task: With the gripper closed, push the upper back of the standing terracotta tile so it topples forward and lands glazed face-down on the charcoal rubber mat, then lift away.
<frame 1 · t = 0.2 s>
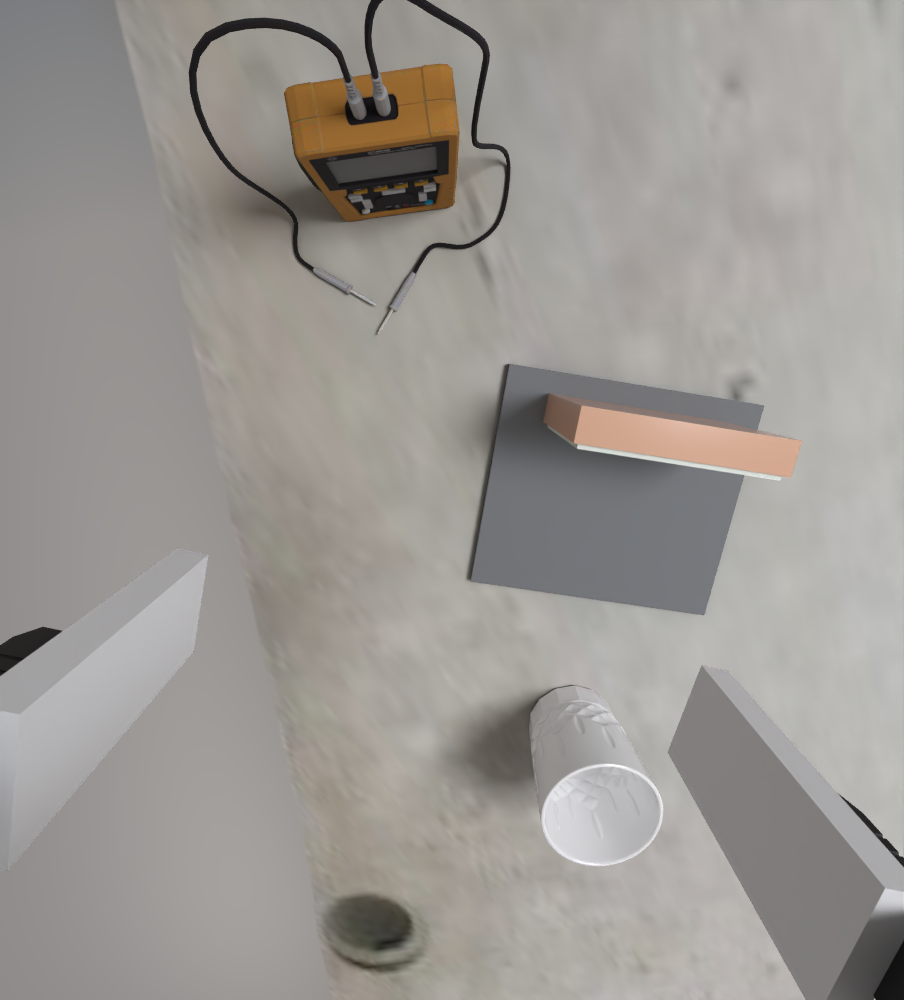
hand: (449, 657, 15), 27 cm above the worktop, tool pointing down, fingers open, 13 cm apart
white cup: (569, 719, 47), on the worktop
multimeter: (406, 252, 38), on the worktop
tile: (629, 421, 40), point 1 cm above the worktop, touching mat
mat: (610, 494, 42), on the worktop
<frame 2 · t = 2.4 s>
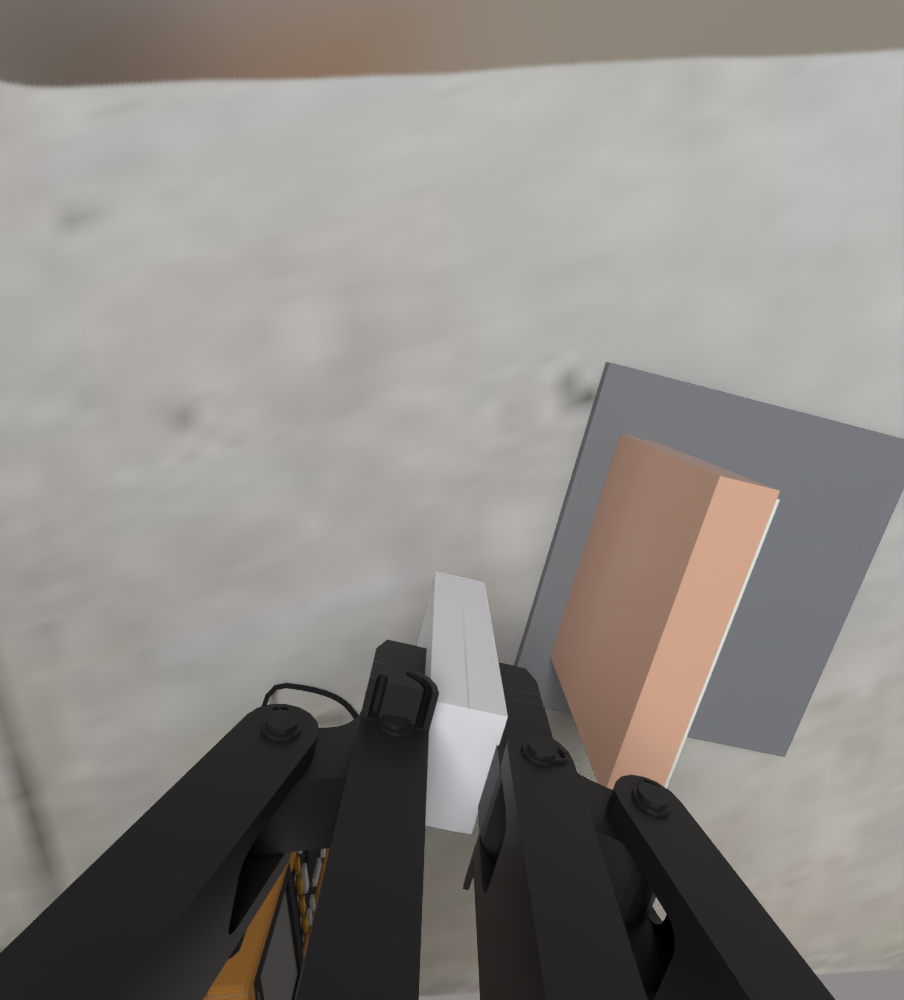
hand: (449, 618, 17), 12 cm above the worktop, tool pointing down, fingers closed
multimeter: (367, 791, 33), on the worktop
tile: (602, 554, 29), point 1 cm above the worktop, touching mat
mat: (700, 573, 30), on the worktop
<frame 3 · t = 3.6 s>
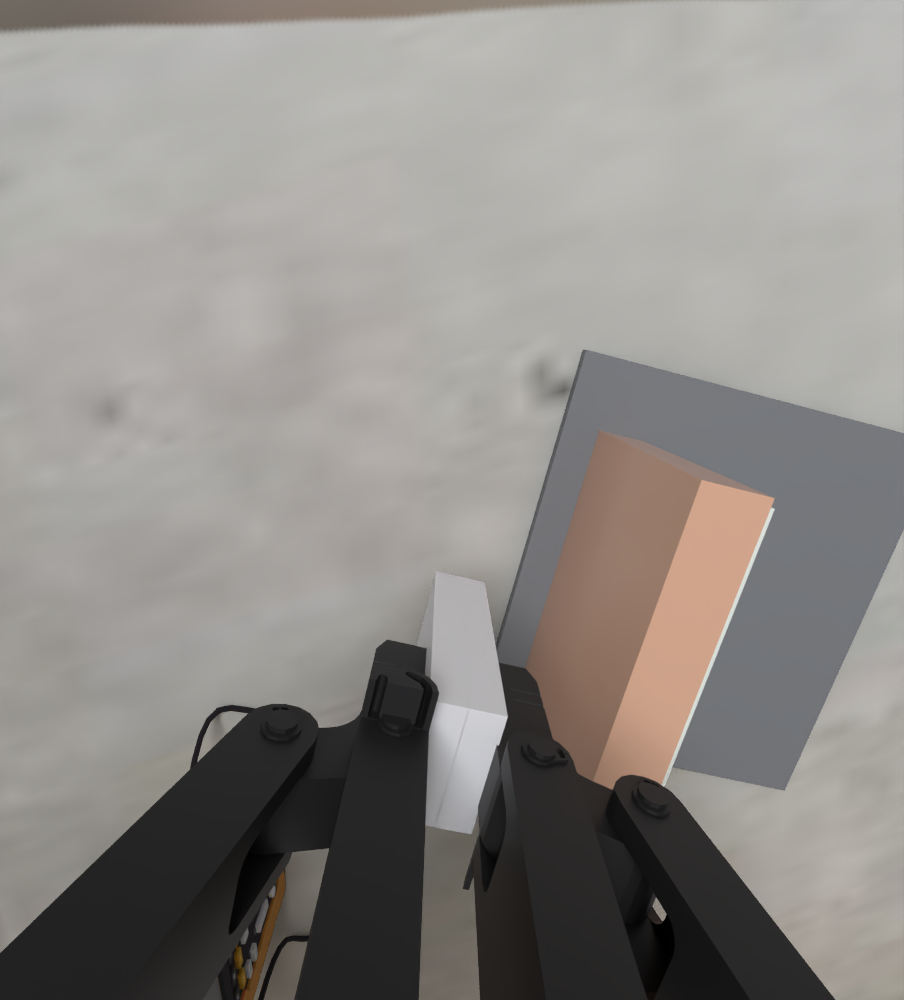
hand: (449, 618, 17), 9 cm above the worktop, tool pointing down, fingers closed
multimeter: (323, 822, 30), on the worktop
tile: (580, 565, 26), point 1 cm above the worktop, touching mat
mat: (690, 587, 27), on the worktop
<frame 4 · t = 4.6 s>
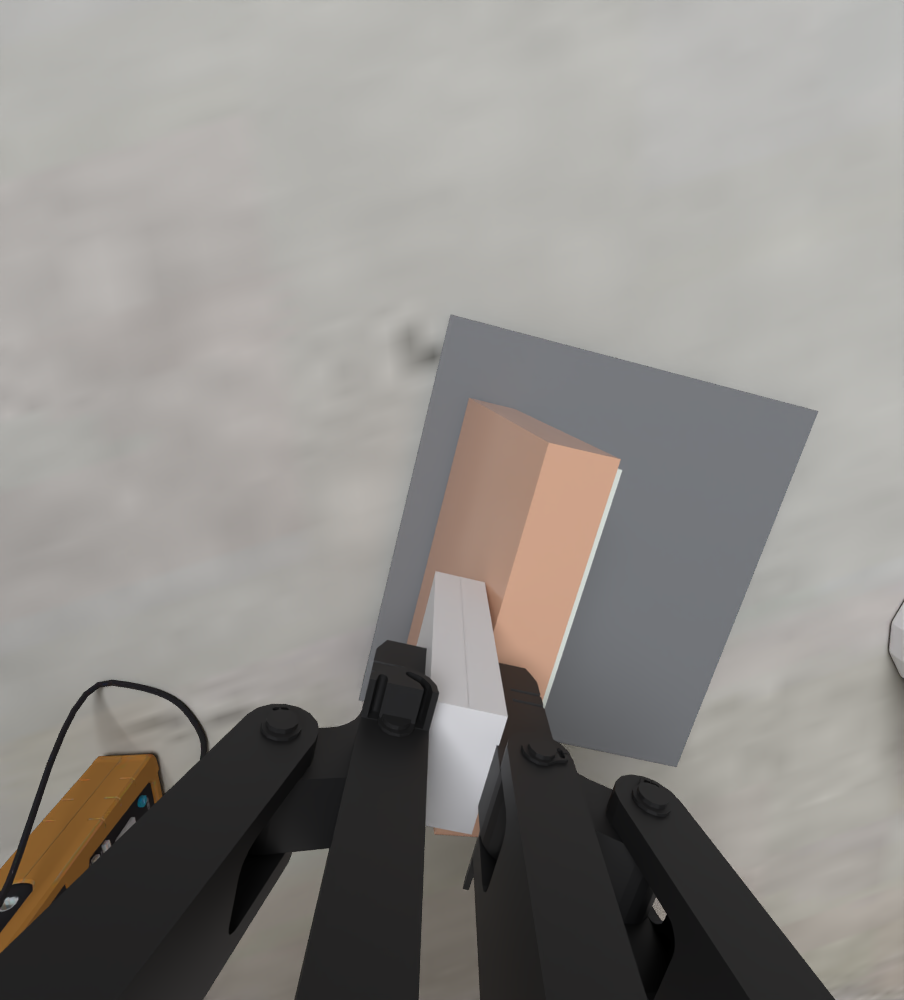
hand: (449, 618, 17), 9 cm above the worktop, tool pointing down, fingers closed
multimeter: (214, 800, 30), on the worktop
tile: (456, 537, 25), point 1 cm above the worktop, tilted 9°, touching mat
mat: (572, 559, 27), on the worktop
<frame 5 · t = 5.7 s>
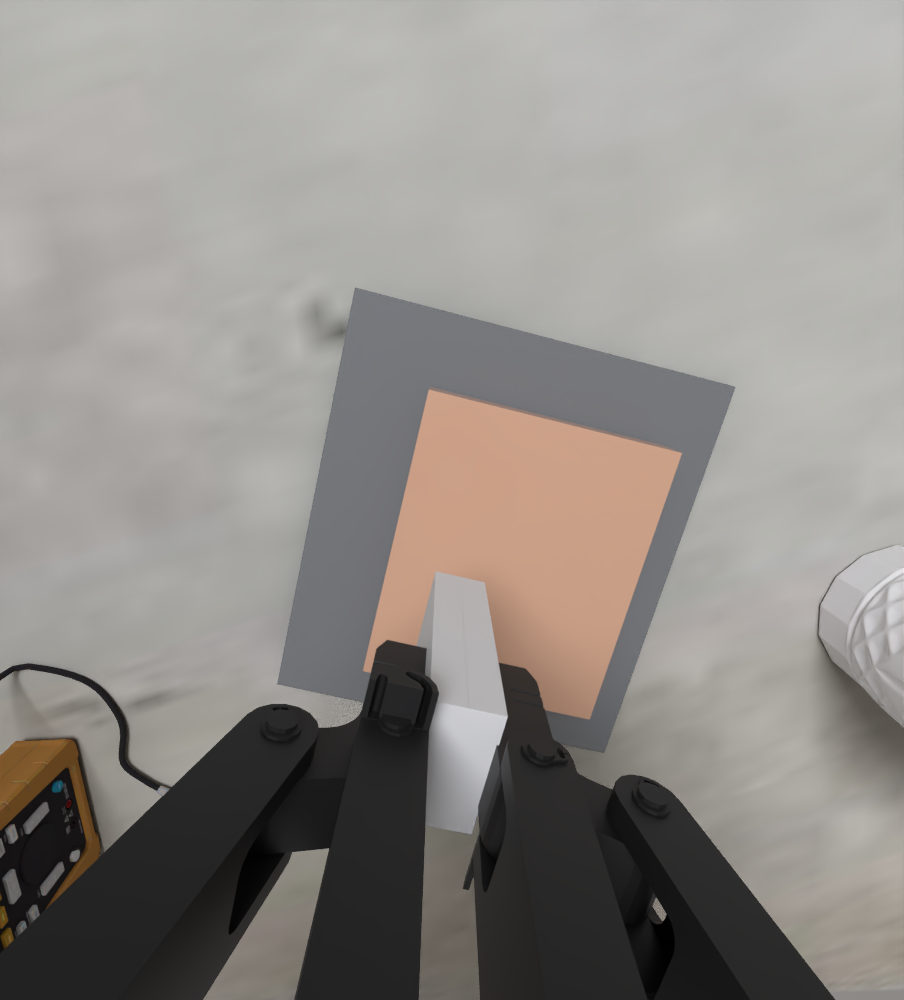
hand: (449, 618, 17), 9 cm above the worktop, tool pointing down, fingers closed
white cup: (884, 609, 27), on the worktop
multimeter: (137, 787, 29), on the worktop
tile: (395, 531, 24), point 2 cm above the worktop, tilted 90°, touching mat
mat: (491, 540, 26), on the worktop
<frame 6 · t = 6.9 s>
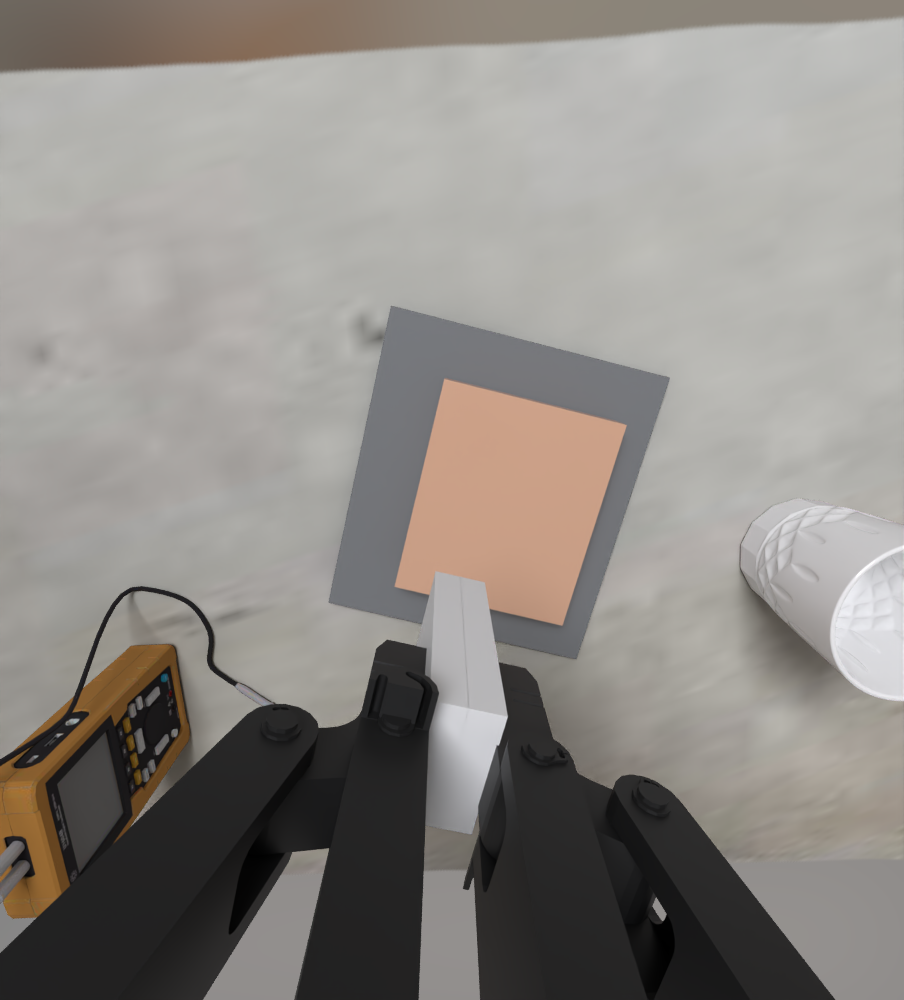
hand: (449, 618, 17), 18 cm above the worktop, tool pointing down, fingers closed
white cup: (791, 549, 36), on the worktop
multimeter: (219, 685, 38), on the worktop
tile: (419, 483, 33), point 2 cm above the worktop, tilted 90°, touching mat
mat: (490, 493, 35), on the worktop
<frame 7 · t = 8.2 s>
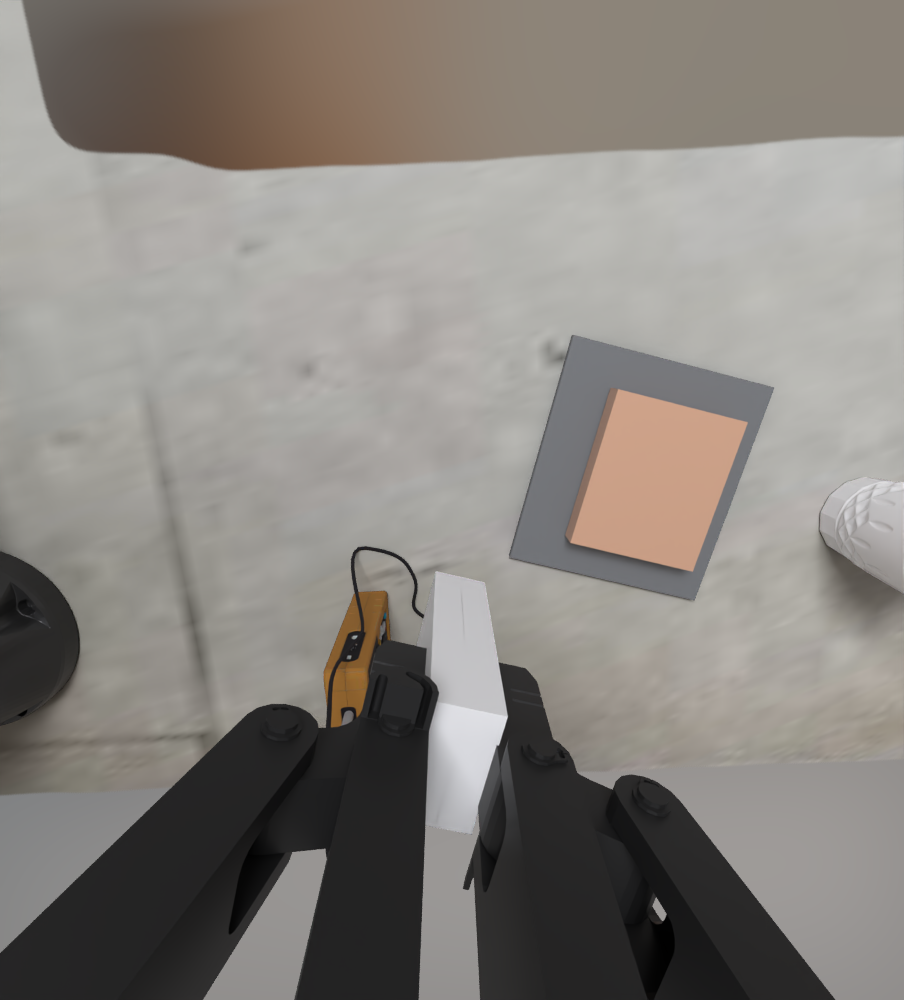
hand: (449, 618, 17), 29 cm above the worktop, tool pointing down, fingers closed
white cup: (857, 515, 48), on the worktop
multimeter: (416, 624, 50), on the worktop
tile: (590, 465, 44), point 2 cm above the worktop, tilted 90°, touching mat
mat: (635, 474, 46), on the worktop
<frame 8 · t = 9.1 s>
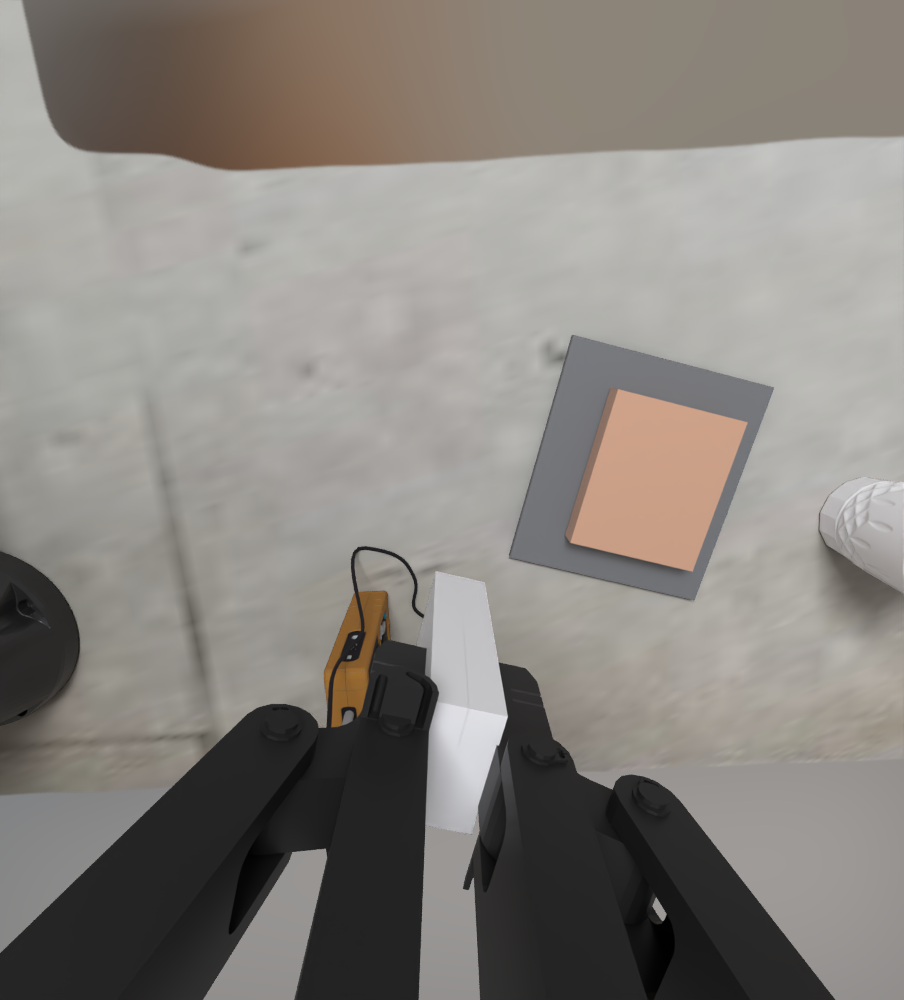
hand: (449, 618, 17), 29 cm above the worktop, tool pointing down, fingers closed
white cup: (857, 515, 48), on the worktop
multimeter: (416, 624, 50), on the worktop
tile: (590, 465, 44), point 2 cm above the worktop, tilted 90°, touching mat
mat: (635, 473, 46), on the worktop
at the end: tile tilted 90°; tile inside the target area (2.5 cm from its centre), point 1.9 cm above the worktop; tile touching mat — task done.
